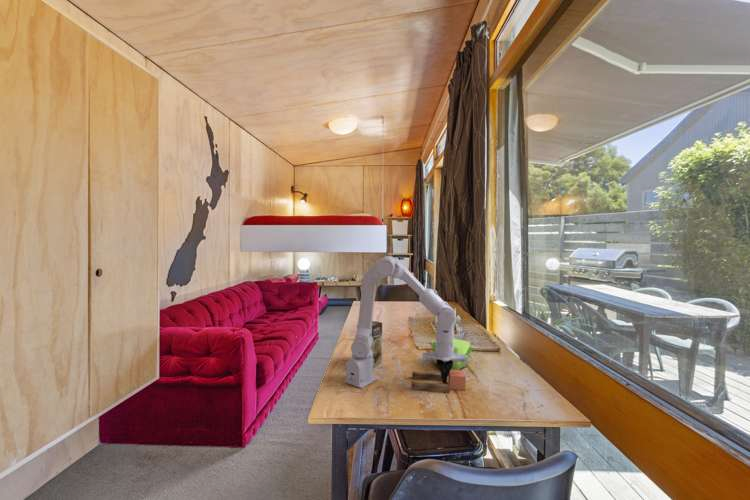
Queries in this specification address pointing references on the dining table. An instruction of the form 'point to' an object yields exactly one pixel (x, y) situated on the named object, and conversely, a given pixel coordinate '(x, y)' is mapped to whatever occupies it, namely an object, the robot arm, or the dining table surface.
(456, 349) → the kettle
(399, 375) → the dining table surface
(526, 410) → the dining table surface
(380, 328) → the coffee box
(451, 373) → the block
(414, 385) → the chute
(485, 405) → the dining table surface
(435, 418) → the dining table surface
